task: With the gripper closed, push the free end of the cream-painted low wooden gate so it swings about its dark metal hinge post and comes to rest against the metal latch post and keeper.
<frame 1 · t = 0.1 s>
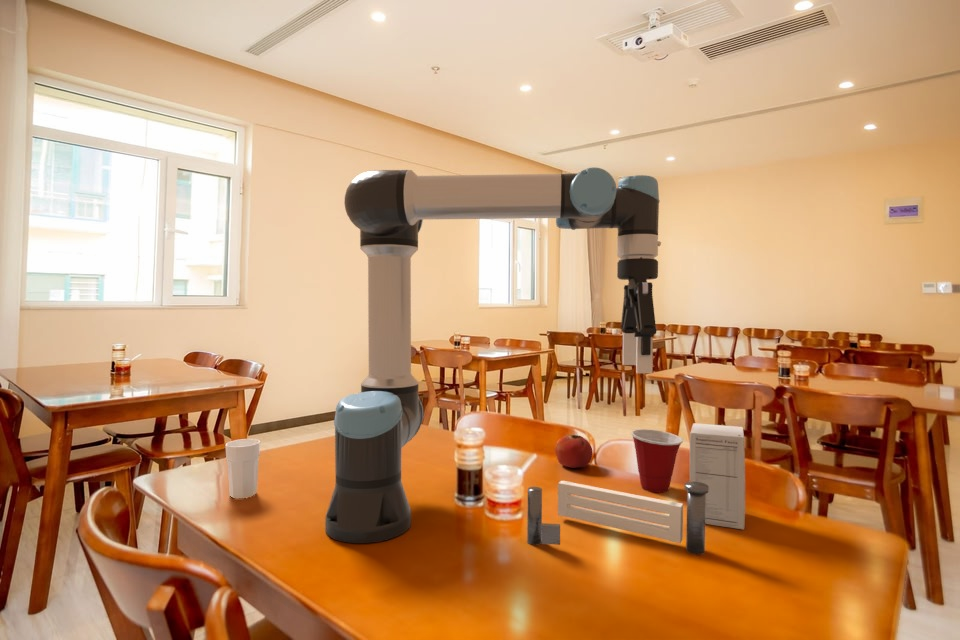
hand: (636, 368, 104), 28 cm above the table, fingers open, 13 cm apart
supplement box: (716, 518, 102), on the table
cup: (243, 495, 112), on the table
tomato: (573, 467, 133), on the table
latch post: (534, 541, 91), on the table
plastic cup: (656, 489, 117), on the table
hinge post: (695, 550, 88), on the table
gate: (617, 509, 94), point 4 cm above the table, hinge at 26.0°
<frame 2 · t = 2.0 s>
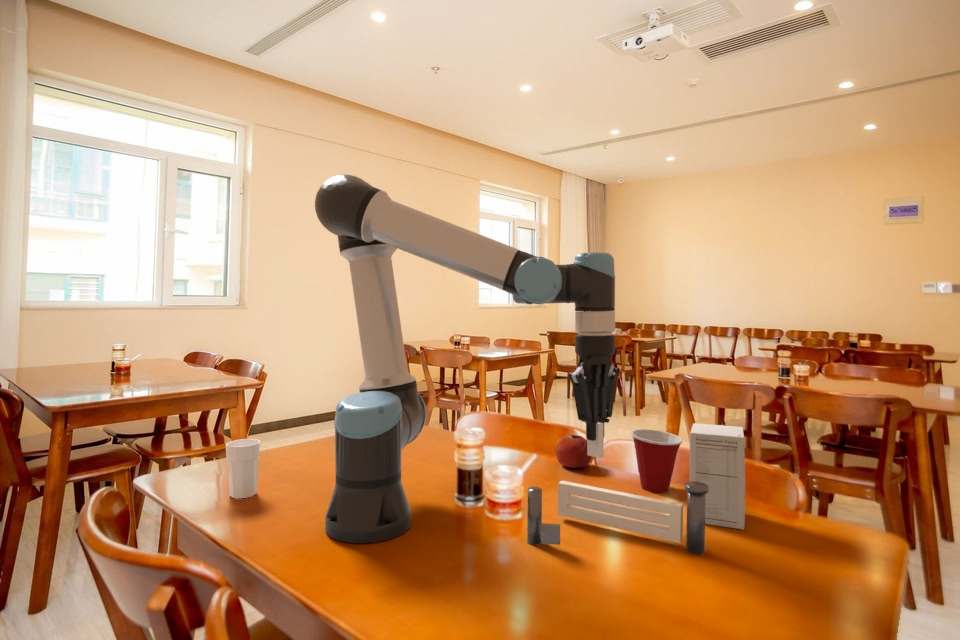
hand: (595, 455, 103), 11 cm above the table, fingers closed
nothing on the table moved.
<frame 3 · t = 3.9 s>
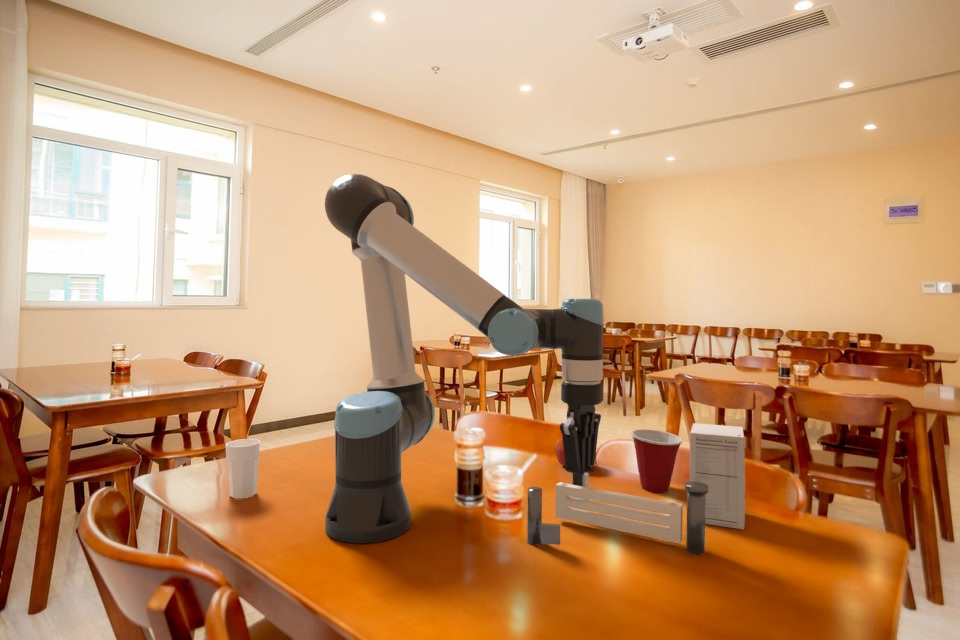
hand: (580, 506, 100), 2 cm above the table, fingers closed
gate: (616, 510, 94), point 4 cm above the table, hinge at 23.1°, touching gripper
everything else where it was.
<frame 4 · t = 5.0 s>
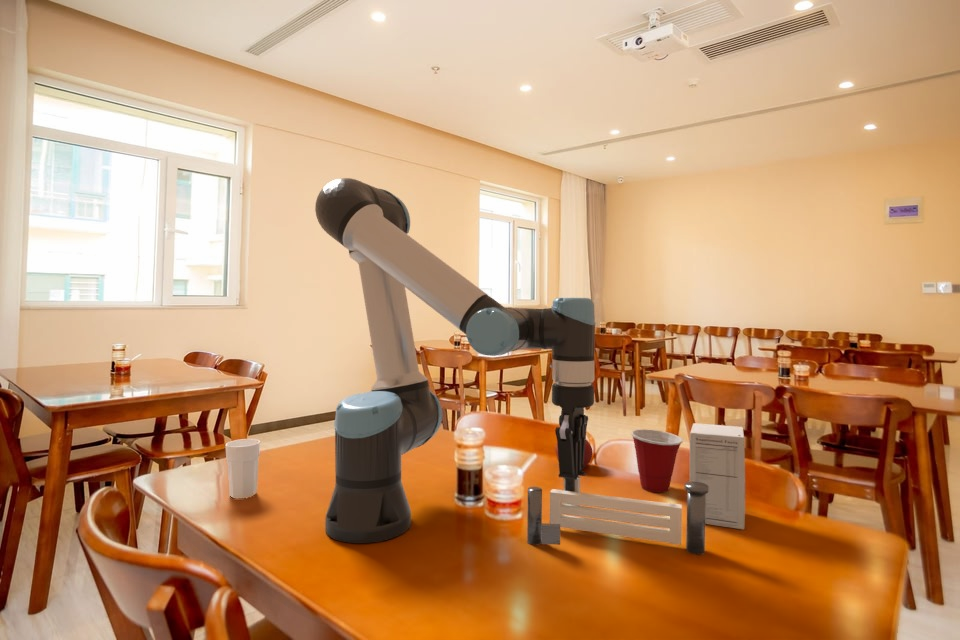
hand: (571, 512, 97), 2 cm above the table, fingers closed
gate: (613, 515, 92), point 4 cm above the table, hinge at 13.1°, touching gripper
everything else where it was.
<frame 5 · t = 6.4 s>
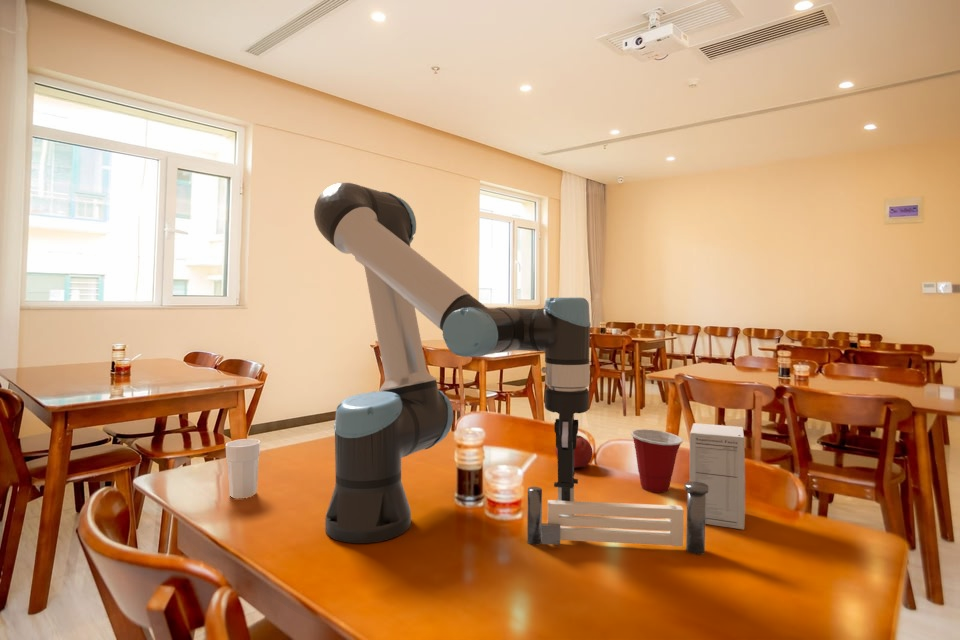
hand: (565, 522, 93), 2 cm above the table, fingers closed
gate: (613, 522, 89), point 4 cm above the table, hinge at -0.3°, touching gripper
everything else where it was.
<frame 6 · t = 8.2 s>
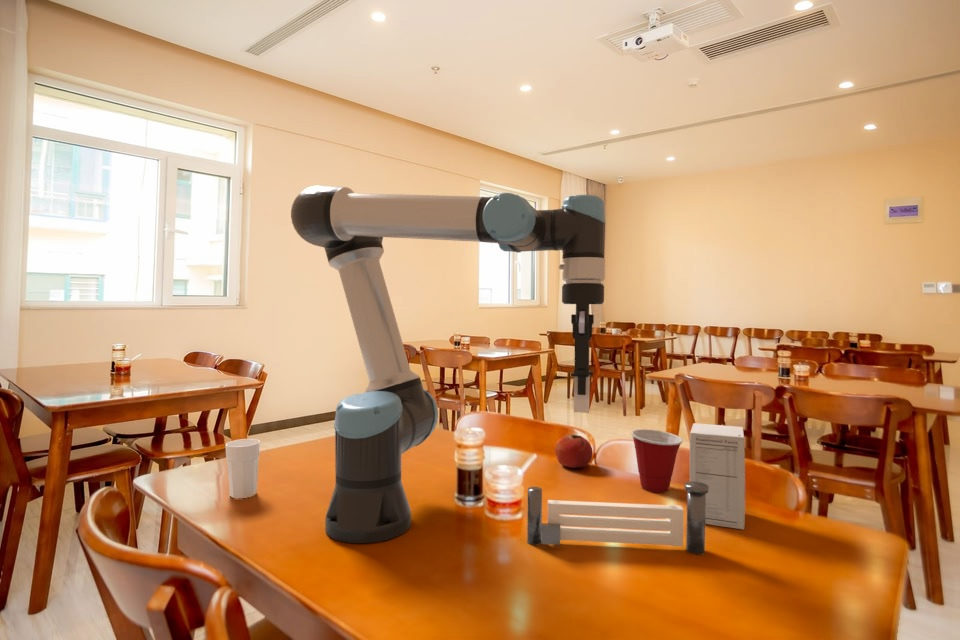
hand: (581, 411, 98), 21 cm above the table, fingers closed
gate: (613, 522, 89), point 4 cm above the table, hinge at -0.3°
everything else where it was.
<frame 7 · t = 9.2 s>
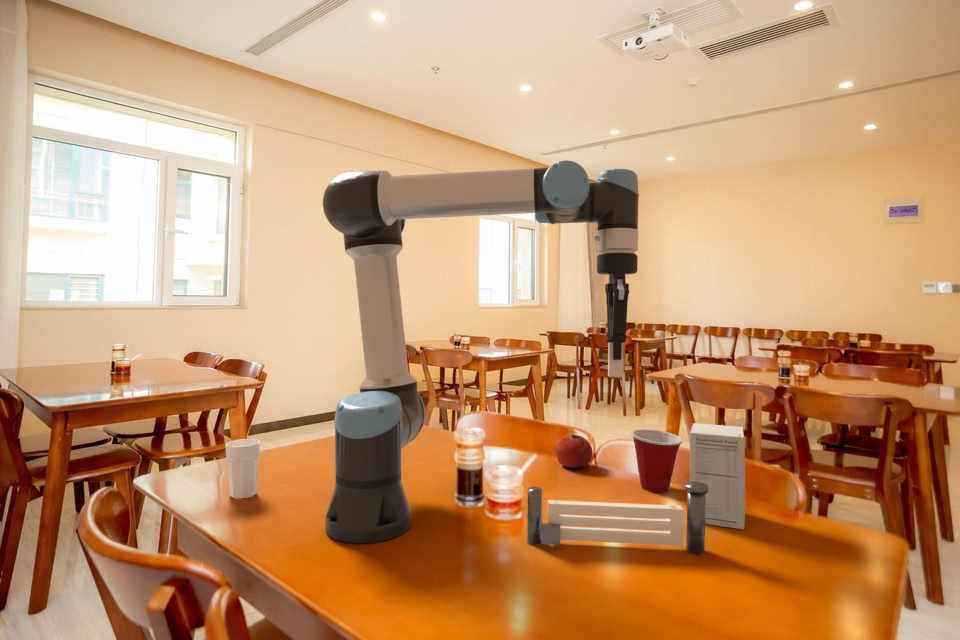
hand: (615, 376, 103), 26 cm above the table, fingers closed
nothing on the table moved.
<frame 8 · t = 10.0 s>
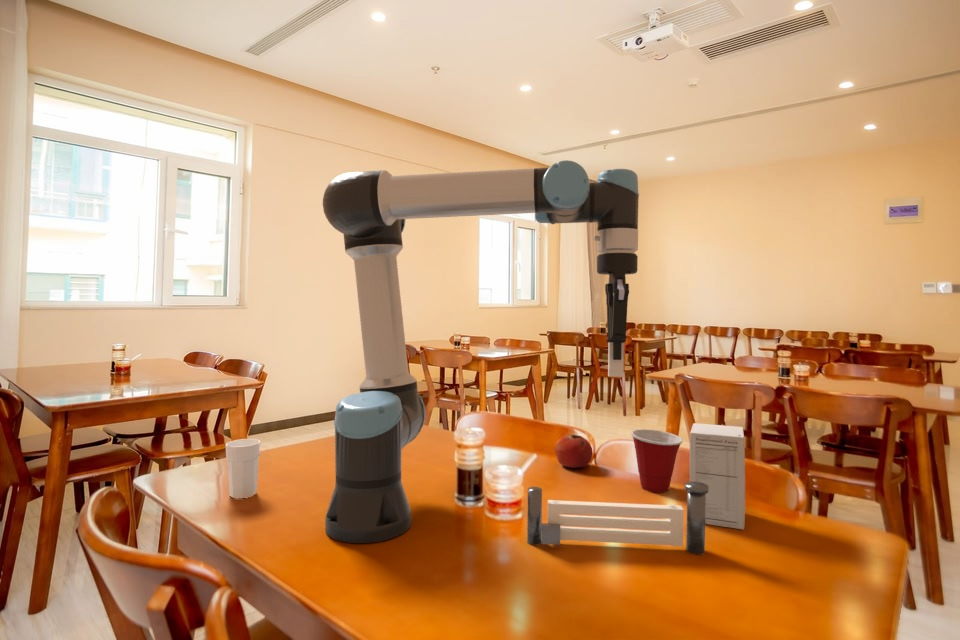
hand: (615, 376, 103), 26 cm above the table, fingers closed
nothing on the table moved.
at the end: gate at +0° (first picture: +26°); the gripper is holding nothing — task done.
